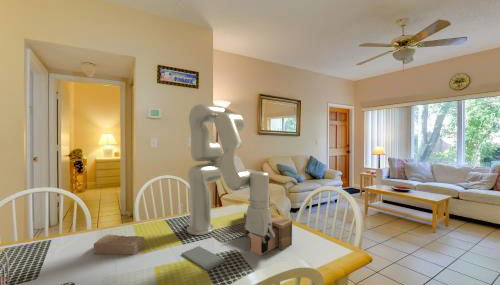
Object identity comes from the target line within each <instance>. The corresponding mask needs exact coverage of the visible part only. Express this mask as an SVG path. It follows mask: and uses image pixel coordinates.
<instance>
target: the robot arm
mask: <svg viewBox="0 0 500 285" xmlns="http://www.w3.org/2000/svg"><path fill="white" fill-rule="evenodd" d="M188 114H189V115H188V124H189V128H190V129H189V130H190V155H191V159H192V160H193V161H195V162H206V161H207V163H201V164H200V163H199V164H198V163H197V164H195V165H192V166H191V167H189V169H188V171H187V180H188V184H189V201H190V202H189V203H190V204H189V206H190V207H189V209H190V210H189V211H190V213H189V214H190V218H189V219H187V222H188V223H189V225H188V226H187V227H186V232H187V233H188V234H190V235H192V236H203V235H207V234H210V233H212V232H213V231H214V229H215V228H214V227H215V226H214V225H213V224H211V219H212V216H211V213H212V212H211V211H212V210H211V204H212V203H211V190H210V188H209V186H208V184H209V183H214V182H218V181H219V180H220V179H221V178H223V181H224V183H225V185H226V187H227V188H228V189H229V190H231V191H241V190H243V189H248V188H249V198H248V200H247V201H248V203H249V205H248V206H247V208H246V209H247V210H246V212H247V215H246V225H245V228H246V230H247V232H248V234H249V237H248V238H250V240H249V243H250V245H249V246H250V249H251V233H254V234H257V235H260V236H262V240H263V242H262V253H264V254H265V252H266V251H268V241H269V240H271V239H272V238H273V237H275V234H274V232H273V230H272V219H271V215H272V213H271V212H272V211H271V208H269V196H270V176H269V173H268V172H267V171H257V170H254V169H250V168H246V169H240V170H237V167H236V164H235V156H236V153H237V152H238V151H239V150H240V149H241V148H242V146H243V141H242V138H241V136H240V132H242V130H243V129H244V127H245V121H244V118H243V117H242V115H241V114H239V113H237V112H235V111H233V110H231V109H228V108H227V107H225V106H222V105H214V104H208V103H198V104H195V105H194V106H193V107H192V108H191V109H190V112H189V113H188ZM206 124H214V126H215V129H216V132H217V136H218V138H219V141H220V143H219V142H216V141H215V140H210V132H209V129H208V127H207V125H206ZM268 233H269V234H270V236H269V234H268ZM265 236H266V239H265ZM268 252H269V251H268ZM266 253H267V252H266Z"/></svg>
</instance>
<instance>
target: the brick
mask: <svg viewBox="0 0 500 285" xmlns="http://www.w3.org/2000/svg"><path fill="white" fill-rule="evenodd" d="M145 247H146V246H145V236H141V235H140V236H138V235H134V236H133V235H130V236H129V235H128V236H125V235H118V234H111V233H110V234H105V235H103V236H102V237H101V238H99V239H98V240H97V241H95V242H94V243H93V253H94V254H97V255H122V256H123V255H125V256H126V255H132V256H133V255H136V254H138V252H139V251H140V250H142V249H143V248H145Z"/></svg>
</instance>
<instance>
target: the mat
mask: <svg viewBox="0 0 500 285" xmlns="http://www.w3.org/2000/svg"><path fill="white" fill-rule="evenodd" d="M181 256H183V257H185V258H186V259H187V260H189V261H191V262H193V263H194V264H196V265H197V266H199V267H200V268H202V269H203V270H205V271H207V272H209V271H210V270H212V269H214V268H216V267H218V266H220V265H222V264H223V263H226V259H224V258H223V257H220V256H218V255H217V254H215V253H213V252H211V251H210V250H207V249H205V248H204V247H202V246H200V245H198V246H196V247H193V248H191V249H189V250H186V251H184V252H181ZM221 263H222V264H221Z"/></svg>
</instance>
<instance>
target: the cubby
mask: <svg viewBox="0 0 500 285" xmlns="http://www.w3.org/2000/svg"><path fill="white" fill-rule="evenodd" d="M246 215H247V211H246V212H244V213H243V236H244V237H248V238H250V237H249V234H248V232H247V230H246V228H245V225H246ZM271 219H272V226H274V227H277V228H279V245H278V250H279V251H282V252H283V251H285V250H286V249H287V248H289V247H290V246H293V220H292V219H288V218H284V217H281V216H279V215H274V214H271Z"/></svg>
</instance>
